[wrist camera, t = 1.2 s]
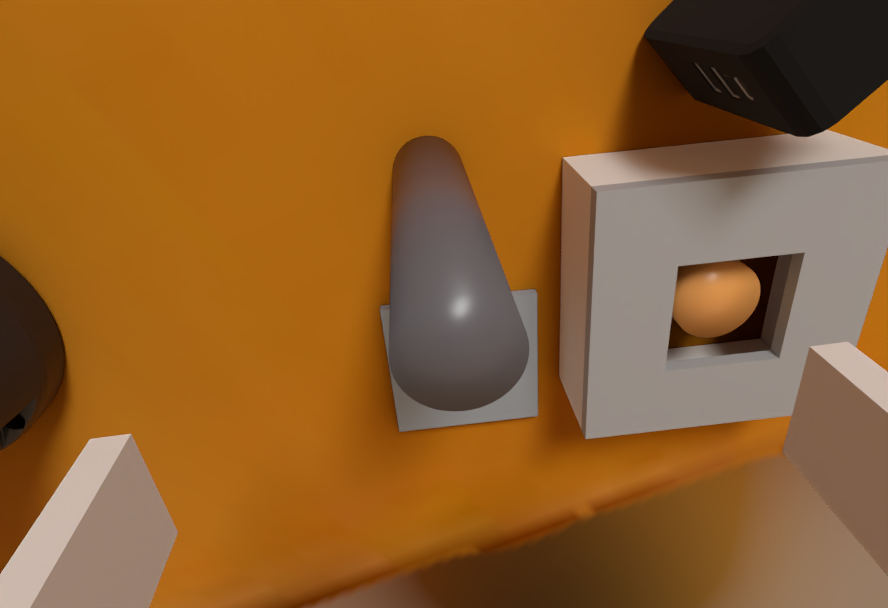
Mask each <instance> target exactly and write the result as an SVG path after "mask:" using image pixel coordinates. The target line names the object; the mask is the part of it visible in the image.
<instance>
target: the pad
mask: <svg viewBox="0 0 888 608" xmlns="http://www.w3.org/2000/svg"><path fill="white" fill-rule="evenodd" d="M511 293H512V295H513V298H514V300H515V303H516V306H517V308H518V311H519V314H520V316H521V319H522V322H523V324H524V327H525V330H526V332H527V336H528V340H529V358H528V363H527V366H526V368H525V371H524V373H523V374H522V376H521V378H520V379H519V381H518V382H517V384H516V385H515V386H514V387H513V388H512V389H511V390H510V391H509V392H508V393H506V394H505V395H504V396H503V397H501V398H500V399H498V400H496V401H495V402H493V403H491V404H488V405H486V406H483V407H481V408H477V409H473V410H468V411H457V412H454V411H442V410H437V409H433V408H429V407H427V406H424V405H422V404H420V403H418V402H416V401H415V400H413V399H412V398H410V397H409V396H408V395H407V394H406V393H405V392H403V391H402V389H401V388H400V387H399V386H398V384H397V383H396V381H395V379H394V377H393V375H392V373H391V369H390V365H389V370H390V376H391V382H392V389H393V395H394V401H395V407H396V413H397V420H398V426H399V432H403V431H411V430H420V429H429V428H438V427H446V426H455V425H464V424H473V423H481V422H490V421H499V420H508V419H516V418H525V417H534V416H538V341H537V292H536V290H535V289H528V290H519V291H511ZM380 314H381V320H382V326H383V332H384V339H385V345H386V351H387V357H388V364H389V314H390V305H382V306H380Z"/></svg>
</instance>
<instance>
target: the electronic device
mask: <svg viewBox="0 0 888 608" xmlns="http://www.w3.org/2000/svg"><path fill="white" fill-rule="evenodd" d="M644 36H645V37H646V39H647V40H648V41H649V43H650V44H651V45H652V46H653V48H654V49H655V50H656V51H657V53H658V54H659V55H660V56H661V58H662V59H663V60H664V61H665V63H666V64H667V65H668V67H669V68H670V69H671V70H672V72H673V73H674V74H675V75H676V77H677V78H678V79H679V80H680V82H681V83H682V84H683V85H684V87H685V88H686V89H687V90H688V92H689V93H690V94H691V95H692V97H693V98H694V99H695V100H698V101H701V102H703V103H706V104H709V105H711V106H714V107H717V108H720V109H722V110H725V111H728V112H731V113H733V114H736V115H739V116H742V117H744V118H747V119H750V120H752V121H755V122H758V123H761V124H763V125H766V126H769V127H772V128H774V129H777V130H780V131H783V132H785V133H788V134H791V135H793V136H796V137H810V136H813V135H816V134H818V133H821V132H824V131H825V130H827V129H828V128H830V127H831V126H833V125H834V124H836V123H837V122H839V121H840V120H841V119H842V118H843V117H844V116H846V115H847V114H848V113H849V112H850V111H851V110H853V109H854V108H855V107H856V106H857V105H859V104H860V103H861V102H862V101H863V100H864V99H866V98H867V97H868V96H869V95H870V94H871V93H873V92H874V91H875V90H876V89H877V88H878V87H880V86H881V85H882V84H883V83H884V82H886V81H887V80H888V0H673V1H672V2H671V3H670V4H669V5H668V6H667V7H666V8H665V9H664V10H663V11H662V12H661V14H660V15H659V16H658V17H657V18H656V19H655V20H654V21H653V22H652V23H651V24H650V26H649V27H648V28H647V30H646V32H645V34H644Z"/></svg>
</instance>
